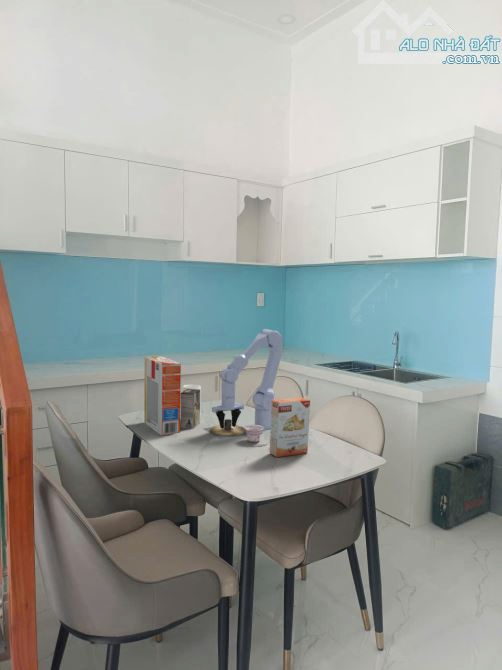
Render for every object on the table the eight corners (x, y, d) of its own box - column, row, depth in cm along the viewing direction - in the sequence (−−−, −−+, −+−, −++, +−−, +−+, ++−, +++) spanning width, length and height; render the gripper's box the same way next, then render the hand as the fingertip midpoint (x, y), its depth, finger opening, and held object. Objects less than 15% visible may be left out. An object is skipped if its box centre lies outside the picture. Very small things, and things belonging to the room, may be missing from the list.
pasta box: (179, 433, 218) (180, 363, 215) (161, 435, 214) (162, 364, 211) (161, 420, 237) (161, 356, 234) (144, 422, 233) (144, 357, 230)
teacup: (247, 436, 216) (248, 422, 215) (273, 441, 210) (274, 426, 210) (233, 444, 205) (233, 429, 205) (260, 449, 200) (260, 433, 199)
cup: (203, 419, 241) (204, 385, 239) (192, 423, 234) (193, 388, 232) (190, 416, 245) (190, 383, 244) (179, 420, 238) (179, 386, 237)
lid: (234, 424, 231) (234, 414, 231) (251, 433, 218) (251, 422, 218) (204, 428, 224) (204, 417, 223) (220, 437, 211) (220, 426, 210)
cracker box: (277, 458, 189) (278, 402, 187) (268, 453, 195) (270, 399, 193) (308, 453, 196) (310, 399, 194) (300, 448, 201) (301, 396, 199)
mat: (235, 425, 232) (235, 424, 232) (253, 434, 218) (253, 433, 218) (202, 429, 224) (203, 428, 224) (219, 439, 210) (219, 438, 210)
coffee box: (186, 423, 234) (187, 388, 232) (200, 424, 232) (200, 389, 231) (179, 428, 225) (180, 392, 223) (193, 429, 223) (194, 393, 222)
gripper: (238, 392, 227) (238, 422, 228) (209, 395, 219) (208, 426, 221) (246, 396, 221) (245, 426, 222) (216, 399, 213) (215, 430, 215)
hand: (227, 427), depth 221 cm, fingers open, 5 cm apart
